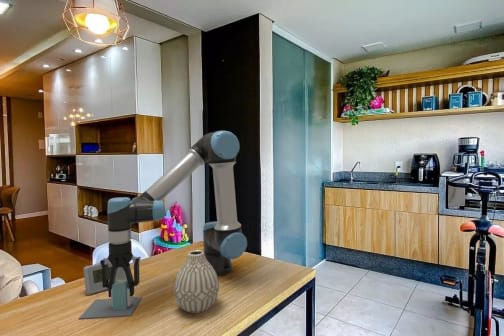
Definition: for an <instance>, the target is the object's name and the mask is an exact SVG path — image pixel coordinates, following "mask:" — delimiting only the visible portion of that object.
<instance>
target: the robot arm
mask: <svg viewBox="0 0 504 336" xmlns="http://www.w3.org/2000/svg"><path fill="white" fill-rule="evenodd" d="M240 146H241V145H240V141H239V139H238V137H237V135H235V134H234V133H233V132H231V131H227V130H217V131H214V132H209V133H206V134H205V135H203V136H201V137H200V139H198V140H197V142H195V143H194V144H193V145H192V146H191V147H190V148H189V149H188V152H187V153H186V154H185V155H184V156H183V157H181V158H180V160H179V161H177V162H176V163H175V164H174V165H173V166H172V167H171V168H169V169H168V170H167V171H166V172H165V173H164V174H163V175H162V176H160V177H159V178H158V179H156V181H155V182H153V183H152V185H150V186H149V187H148V188H147V189H145V191H144V192H142V193H141V194H140V195H139V196H136V197H134V198H132V199H131V198H130V197H128V196H127V197H114V198H113V197H112V198H110V199H109V200H108V201H107V212H106V213H107V238H108V242H109V243H108V256H107V257H106V258H105V257H104V258H102V259H101V260H100V261H99V263H100V264H101V266H102V286H103V287H104V288H105V287H106V288H108V290H107V291H108V297H109V298H110V299H111V304H112V307H113V296H112V285H113V284H114V282H115V277H116V273H117V269H118V268H119V267H121V268H123V270H124V271H125V274H126V278H127V281H128V285H129V287H128V288H127V307H128V306H130V305H131V303H132V298H133V296H134V295H135V287H138V285H139V284H140V261H141V256H134V255H133V251H132V250H133V247H132V246H133V245H132V240H131V239H132V224H136V223H148V222H156V221H161V220H163V219H164V218H165V216H166V206H165V203H164V202H163V200H164V199H165V198H166V197H167V196H168V195H169V194H170V193H172V192H173V191H174V190H175V189H176V188H177V187H178V186H180V184H182V182H184V180H185V179H187V178H188V177H189V176H190V175H192V173H194V171H196V169H198V168H199V167H200V166H204V165H206V163H208V165H209V166H210V167H211V168H212V175H213V185H214V186H213V187H214V196H215V197H214V198H215V209H216V220H217V221H210V222H206V223H204V224H203V226H202V227H203V228H202V229H203V230H202V232H203V233H202V236H203V238H202V239H203V240H202V241H203V252H204V254H205V257H206V259H207V261H208V262H209V263H210V264H211V266H212V267H213V268H214V270H215V272H216V274H217V277H221V276H225V275H228V274H230V273H231V272H232V271H233V262H232V260H236V259H238V258H240V257H241V256H242V255H243V254H244V253H245V252H246V249H247V247H248V240H247V237H246V236H245V234H243V231H242V224H241V223H240V222H239V221H238V214H237V213H238V212H237V203H236V202H237V201H236V200H237V199H236V189H235V176H234V165H235V164H236V163H237V156H238V153H239V152H240ZM131 261H132V263H133V274H132V269H131V264H130V263H131ZM108 262H110V263H111V264H112V269H111V270H112V271H111V275H110V280H108Z"/></svg>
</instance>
